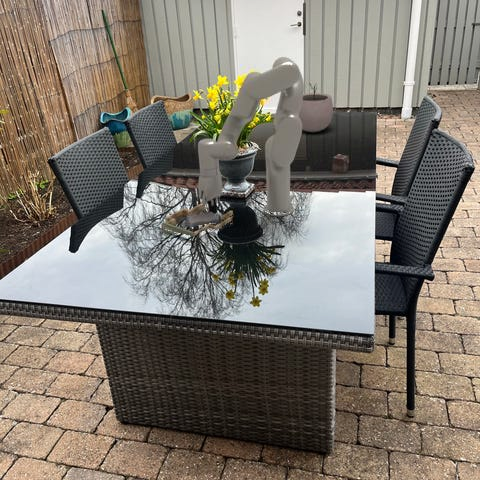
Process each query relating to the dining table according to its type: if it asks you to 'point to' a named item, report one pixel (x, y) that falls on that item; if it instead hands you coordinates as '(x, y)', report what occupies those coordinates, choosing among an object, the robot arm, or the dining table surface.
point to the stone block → (202, 219)
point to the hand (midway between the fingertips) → (213, 212)
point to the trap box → (183, 214)
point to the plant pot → (316, 111)
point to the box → (340, 163)
